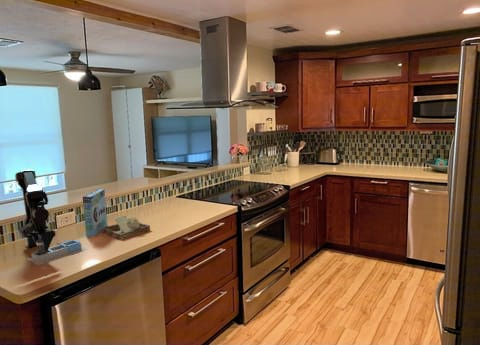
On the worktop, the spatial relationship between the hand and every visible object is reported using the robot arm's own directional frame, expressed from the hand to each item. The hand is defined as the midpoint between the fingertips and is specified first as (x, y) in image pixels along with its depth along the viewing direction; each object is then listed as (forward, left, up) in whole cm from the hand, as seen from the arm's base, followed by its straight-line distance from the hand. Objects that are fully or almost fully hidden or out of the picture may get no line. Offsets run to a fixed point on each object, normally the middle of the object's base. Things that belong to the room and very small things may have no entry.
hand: (42, 248), depth 170 cm
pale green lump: (-4, +46, -6) cm, 47 cm away
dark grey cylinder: (0, 0, -5) cm, 5 cm away
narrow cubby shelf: (0, +6, -6) cm, 9 cm away
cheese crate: (-4, +47, -6) cm, 48 cm away
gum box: (-20, +38, -6) cm, 43 cm away
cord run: (-11, +13, -6) cm, 18 cm away
